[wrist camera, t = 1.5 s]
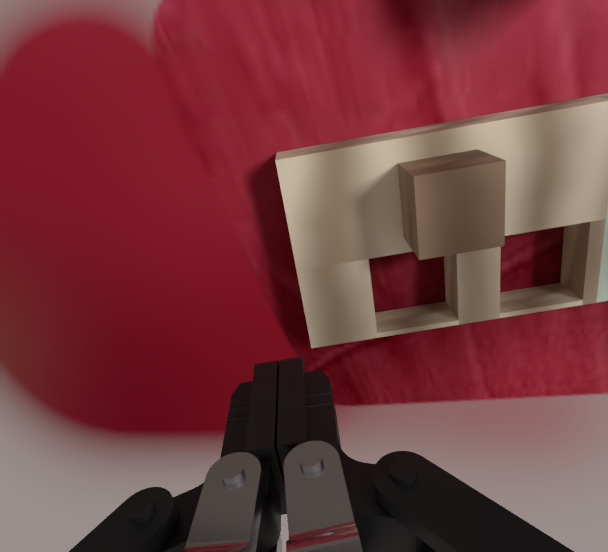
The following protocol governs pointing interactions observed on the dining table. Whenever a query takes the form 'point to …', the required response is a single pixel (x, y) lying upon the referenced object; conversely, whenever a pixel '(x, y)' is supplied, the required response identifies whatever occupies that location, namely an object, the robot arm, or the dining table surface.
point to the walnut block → (453, 203)
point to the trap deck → (459, 267)
